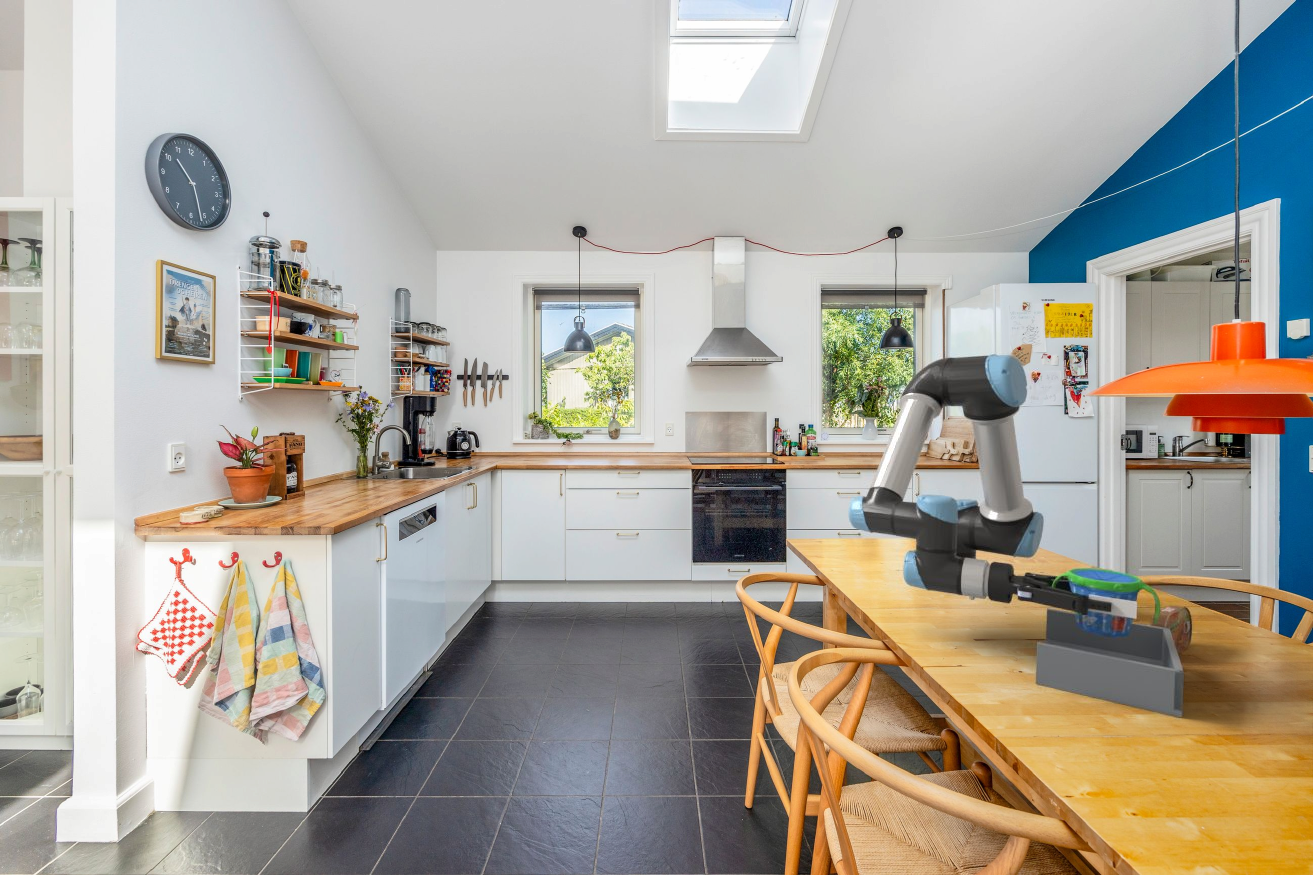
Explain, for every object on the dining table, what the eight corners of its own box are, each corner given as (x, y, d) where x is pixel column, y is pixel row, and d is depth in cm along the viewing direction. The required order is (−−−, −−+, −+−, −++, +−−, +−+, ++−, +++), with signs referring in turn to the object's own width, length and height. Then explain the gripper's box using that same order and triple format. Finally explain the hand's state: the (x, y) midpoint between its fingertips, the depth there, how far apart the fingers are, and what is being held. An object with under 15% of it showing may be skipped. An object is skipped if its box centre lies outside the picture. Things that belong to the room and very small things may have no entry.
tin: (1166, 662, 113) (1168, 617, 113) (1145, 656, 116) (1147, 613, 116) (1193, 645, 122) (1195, 604, 121) (1173, 640, 124) (1175, 600, 124)
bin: (1046, 642, 123) (1047, 608, 122) (1168, 665, 111) (1169, 628, 111) (1035, 683, 103) (1037, 643, 103) (1181, 717, 92) (1183, 672, 92)
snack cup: (1041, 625, 110) (1043, 570, 109) (1061, 614, 116) (1063, 562, 116) (1150, 652, 98) (1152, 590, 97) (1165, 637, 104) (1168, 579, 104)
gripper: (996, 587, 127) (1131, 608, 113) (979, 613, 109) (1137, 642, 95) (997, 551, 126) (1133, 569, 113) (980, 572, 109) (1139, 596, 95)
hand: (1135, 602), depth 104 cm, fingers closed on snack cup, 9 cm apart
